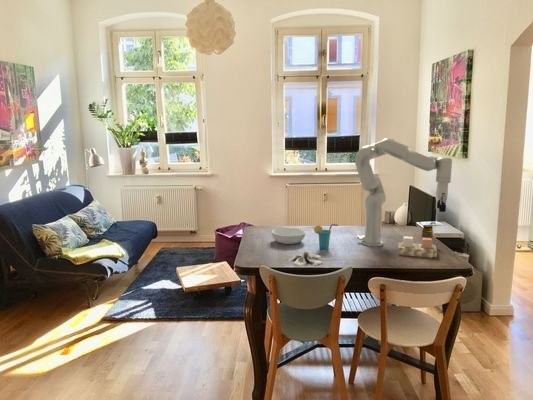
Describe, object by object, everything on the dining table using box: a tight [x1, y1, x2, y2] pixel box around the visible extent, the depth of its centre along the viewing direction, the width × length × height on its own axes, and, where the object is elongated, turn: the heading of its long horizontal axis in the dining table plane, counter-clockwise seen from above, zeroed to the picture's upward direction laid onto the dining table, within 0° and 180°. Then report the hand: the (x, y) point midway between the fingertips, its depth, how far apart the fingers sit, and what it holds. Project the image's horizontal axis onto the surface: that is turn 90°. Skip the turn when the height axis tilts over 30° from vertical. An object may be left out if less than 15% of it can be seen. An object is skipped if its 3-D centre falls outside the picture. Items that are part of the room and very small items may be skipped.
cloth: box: [288, 250, 323, 267], centre depth 226 cm, size 22×19×6 cm
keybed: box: [397, 241, 438, 259], centre depth 239 cm, size 20×12×4 cm, turn 74°
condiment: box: [418, 224, 434, 245], centre depth 254 cm, size 7×8×12 cm
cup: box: [313, 223, 339, 251], centre depth 246 cm, size 14×8×15 cm, turn 97°
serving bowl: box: [271, 227, 306, 245], centre depth 261 cm, size 21×21×7 cm
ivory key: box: [402, 235, 414, 247], centre depth 240 cm, size 5×5×6 cm
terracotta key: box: [421, 237, 433, 249], centre depth 237 cm, size 5×5×6 cm
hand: (441, 210), depth 237 cm, fingers open, 9 cm apart
